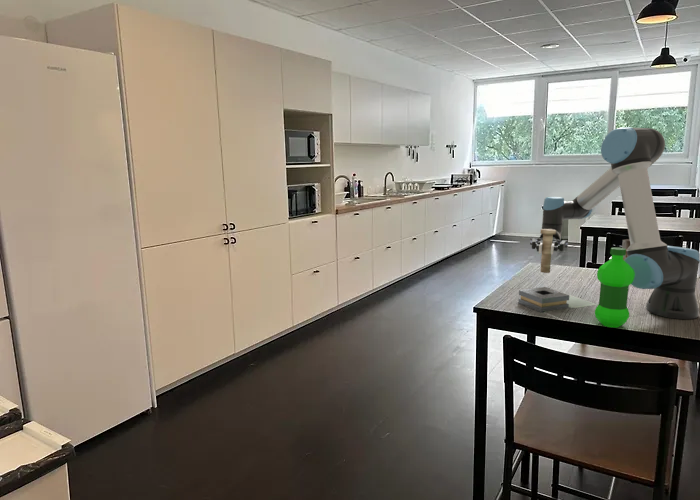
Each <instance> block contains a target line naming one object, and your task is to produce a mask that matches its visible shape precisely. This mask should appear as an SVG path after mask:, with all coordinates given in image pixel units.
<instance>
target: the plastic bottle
mask: <svg viewBox="0 0 700 500" xmlns="http://www.w3.org/2000/svg"><path fill="white" fill-rule="evenodd" d="M609 254H610V255H611V258H610V259H608V260H607V261H606V262H604V263H603V264H602V265H600V266H599V268H598V270H597V272H596V276H597V277H596V278H597V280H598V281H599V282H600V289H599V298H598V305H596V308H595V309H594V316H595V318H596V319H597V321H598V322H599V323H600V324H601V325H602V326H603V327H607V328H616V329H617V328H619V327H621V326H623V325H625V324H626V323H627V322H628V319H629V318H630V312H629V311H630V310H629V308H628V299H629V298H628V296H629V289H630V286H631V284H632V282H633V280H634V278H635V272H634V269H633V268H632V267H631V266H630V265H629V264H628V263H626V262H625V261H624V260H623V256H624V255H626V249H624V248H622V247H616V246H615V247H611V248H610V251H609Z"/></svg>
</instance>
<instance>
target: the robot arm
mask: <svg viewBox="0 0 700 500" xmlns="http://www.w3.org/2000/svg"><path fill="white" fill-rule="evenodd" d="M665 146H666V141H665V138H664V136H663V134H662V133H661V132H660V131H658V130H656V129H655V128H653V127H651V128H650V127H631V126H625V127H618V128H615V129H612V130H610V132H608V133H607V135H606V136H605V138H604V139H603V140H602V143H601V146H600V155H601V157H602V158H603V160H604V161H606V162H607V163H609V164H610V165H611V166H610V168H608V169H607V170H606V171H605V172H604V173H602V174H601V175H600V176H599V177H598V178H596V180H594V181H593V182H592V183H591V184H590V185H589V186H588V187H586V189H584V190H583V191H582V192H580V194H579V195H577V196H576V197H575V198H574V199H572V200H565V198H564V197H562V196H548V197H545V198H544V201H543V206H542V223H541V229H553V230H556V234H553V239H552V245H551V255H554V252H558V250H559V251H560V252H563V251H564V250H565V249H566V248H568V246H569V240H567V239H564V240H562V237H563V235H562V234H563V233H562V232H563V231H562V230H563V221H567V220H568V221H569V220H582V219H586V218H588V217H590V216H591V215H592V213H593V209H594V208H595V207H596V206H598V204H599V203H601V202H602V201H603V200H605V199H606V198H608V197H609V196H610V195H612V193H613V192H615V191H616V190H618V188H620V194H621V199H622V204H623V211H624V215H625V220H626V227H627V233H628V239H630V246H629V248H628V249H627V250H626V251H627V258H626V259H625V260H624V261H625V262H626V263H628V264H629V265H630V266H631V267H632V268H633V269H634V272H635V278H634V280H633V282H632V284H630V286H633V287H635V288H637V289H640V290H653V291H652V292H651V295H650V296H649V298H648V301H647V302H646V305H645V306H646V307H645V310H646V311H648V312H649V313H651V314H653V315H657V316H658V317H659V316H660V317H664V318H670V319H677V320H692V319H697V318H699V312H700V309H699V306H698V301H697V297H696V287H697V281H698V280H697V279H698V274H699V266H700V252H699V251H698V250H697V249H693V248H688V247H681V246H673V245H668V244H667V243H665V242H664V241H662V239H661V235H660V230H659V224H658V220H657V215H656V209H655V204H654V199H653V198H654V197H653V194H652V193H653V192H652V189H651V188H652V187H651V183H650V177H649V172H648V169H649V168H650V167H651V166H652V165H653V164H654V163H655V162H657V161H658V160H659V159H660V158H661V156H662V155H663V153H664V151H665V149H666V147H665ZM529 243H530V244H529V245H530V246H531V249H532V250H536V252H538V254H542V244H543V234H541V233H540V235H539V238H534V237H530V239H529Z"/></svg>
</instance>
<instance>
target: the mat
mask: <svg viewBox="0 0 700 500" xmlns="http://www.w3.org/2000/svg"><path fill="white" fill-rule="evenodd" d="M568 295H569V300H567V303H568V304H569V307H568V308H571V309H577V308H584V307H591V306H598V305H599V303H596V302H592V301H589V300H586V299H583V298H580V297H578V296H574V295H571V294H568Z"/></svg>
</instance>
